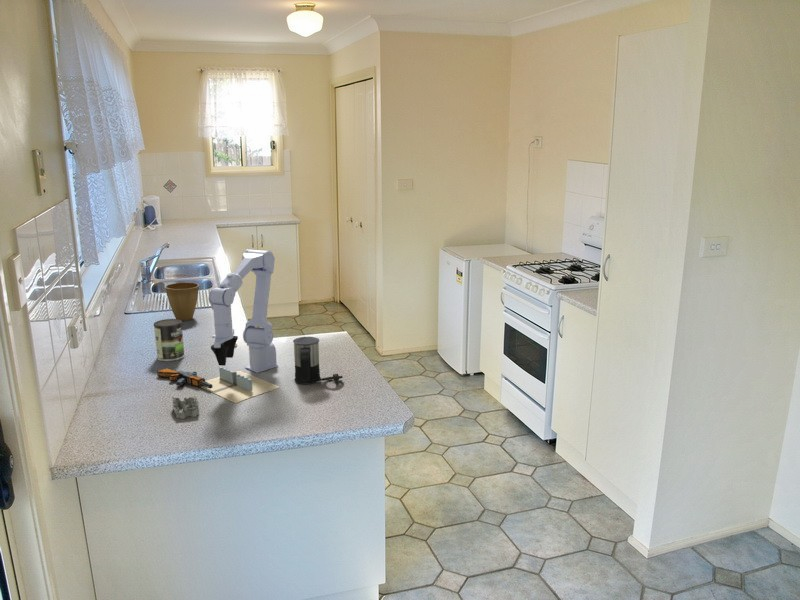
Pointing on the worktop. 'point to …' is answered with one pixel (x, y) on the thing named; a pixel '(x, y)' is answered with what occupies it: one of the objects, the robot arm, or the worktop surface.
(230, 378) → the fence fixed panel
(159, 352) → the coffee can
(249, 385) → the fence hinged panel
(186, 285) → the plant pot
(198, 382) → the toy
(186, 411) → the grey rock
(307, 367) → the milk frother
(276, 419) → the worktop surface
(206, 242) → the worktop surface
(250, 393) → the card
